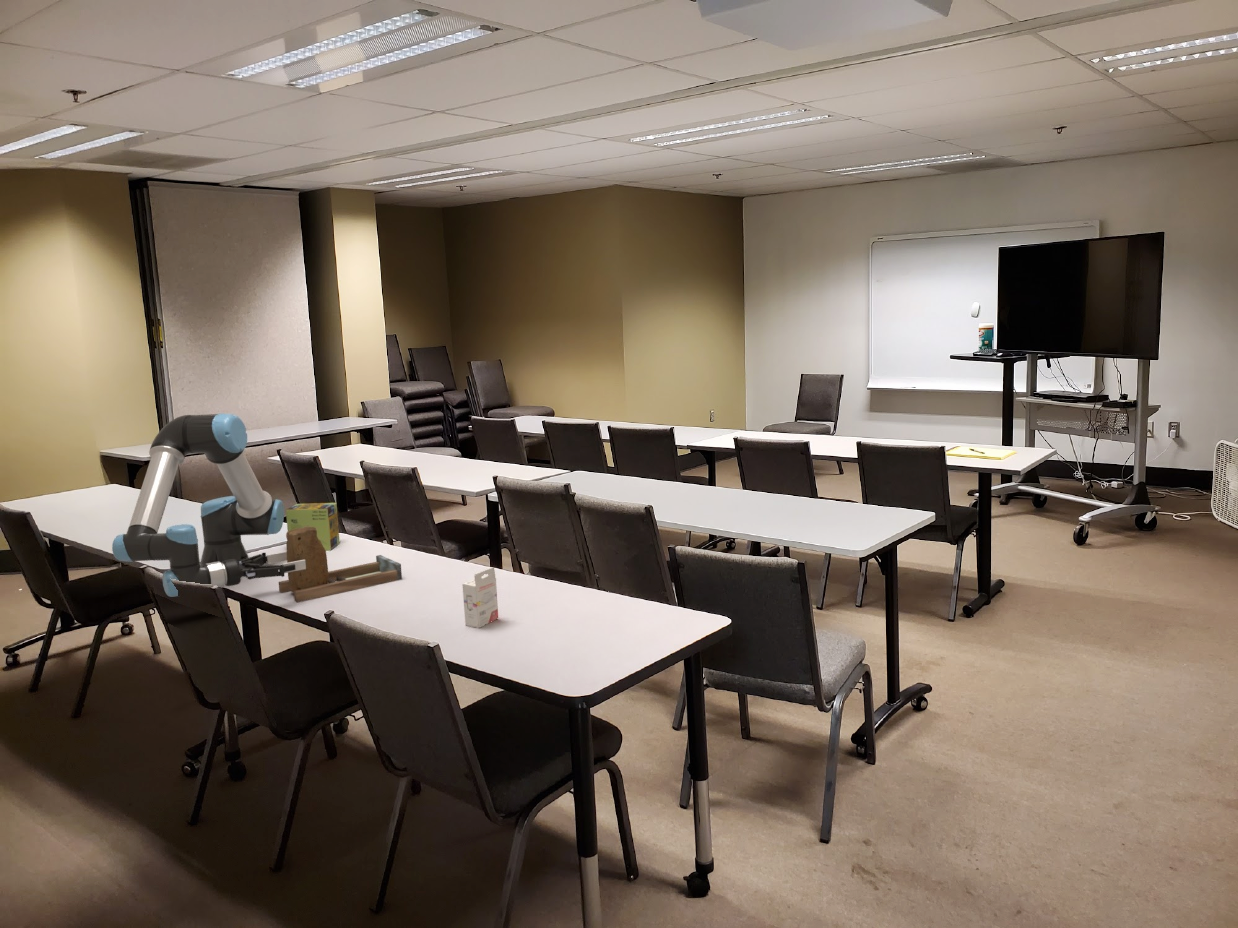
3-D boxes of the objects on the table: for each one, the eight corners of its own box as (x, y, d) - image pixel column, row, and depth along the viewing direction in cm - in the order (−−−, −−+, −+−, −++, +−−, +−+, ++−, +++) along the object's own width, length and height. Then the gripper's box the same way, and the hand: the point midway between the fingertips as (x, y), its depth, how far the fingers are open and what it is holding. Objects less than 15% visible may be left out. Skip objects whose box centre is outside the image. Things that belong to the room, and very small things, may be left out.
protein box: (331, 550, 330) (327, 508, 327) (288, 551, 330) (284, 509, 328) (340, 543, 340) (337, 502, 338) (299, 544, 340) (295, 503, 338)
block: (297, 598, 275) (291, 533, 271) (287, 593, 280) (281, 529, 277) (332, 590, 282) (326, 526, 278) (321, 585, 287) (316, 523, 284)
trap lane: (279, 591, 282) (277, 575, 282) (381, 569, 303) (380, 554, 302) (297, 602, 271) (295, 585, 270) (401, 579, 292) (400, 563, 291)
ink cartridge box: (484, 616, 254) (482, 564, 251) (499, 618, 251) (496, 566, 249) (464, 625, 247) (460, 572, 244) (478, 628, 244) (475, 574, 242)
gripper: (212, 577, 274) (283, 563, 287) (237, 596, 255) (313, 580, 268) (209, 553, 273) (281, 540, 286) (235, 569, 253) (311, 555, 266)
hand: (297, 559), depth 277 cm, fingers open, 13 cm apart
